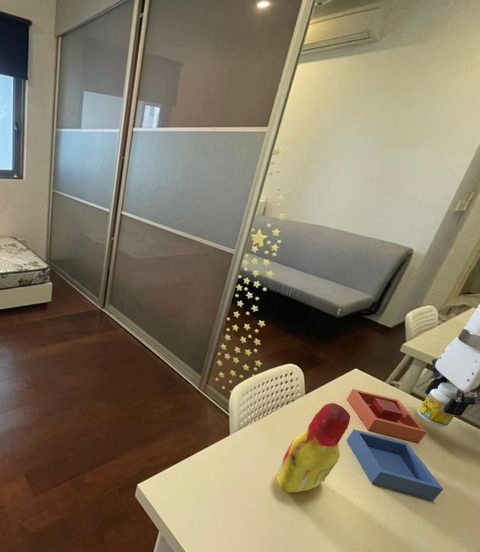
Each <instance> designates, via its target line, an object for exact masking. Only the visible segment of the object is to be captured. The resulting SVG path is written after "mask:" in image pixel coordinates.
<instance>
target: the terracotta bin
mask: <svg viewBox="0 0 480 552" xmlns="http://www.w3.org/2000/svg"><path fill="white" fill-rule="evenodd" d="M375 398H377V399H381V400H385V401H389V402H393V403H394V404H395V405H396V407H397V408H398V409H399V410H400V411H401V412H402V414H403V415H402V416H401V418H400V419H399V420H398V422H397V423H395V422H391V421H387V420H383V419H379V418H377V417H376V416H375V415H374V413H373V412H372V411H371V409H370V408H369V407H370V405H371V404H372V402H373V401H374V399H375ZM346 400H347V402H348V403H349V405H350V406H351V407H352V409H353V410H354V411H355V413H356V414H357V416H358V418H359V419H360V420H361V422H362V424H363V425H364V426H365V428H366V429H367V431H370V432H375V433H378V434H382V435H386V436H390V437H393V438H398V439H402V440H406V441H410V442H413V443H417V444H419V443H420V442H421V441H422V439H423V438H424V437H425V436H426V434H427V433H428V432H427V431H426V429H424V427H423V426H422V425H421V424H420V423H419V421H418V420H417V419H416V418H415V417H414V416H413V414H411V412H410V411H409V410H408V409H407V407H406V406H404V404H403V403H402V402H401V401H400V400H399V399H397V398H392V397H389V396H384V395H380V394H376V393H371V392H367V391H363V390H359V389H355V388H352V390H351V391H350V393H349V394H348V396H347V397H346Z"/></svg>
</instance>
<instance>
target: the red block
mask: <svg viewBox="0 0 480 552" xmlns="http://www.w3.org/2000/svg"><path fill="white" fill-rule="evenodd" d="M369 408H370V409H371V411H372V412H373V413H374V415H375V416H376V417H377V418H379V419H383V420H387V421H391V422H395V423H397V422H398V420H399V419H400V418H401V416H402V415H403V414H402V412H401V411H400V410H399V409H398V408H397V407H396V405H395V404H394V403H393V402H389V401H385V400H381V399H377V398H375V399H374V401H373V402H372V404H371V405H370V407H369Z"/></svg>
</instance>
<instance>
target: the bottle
mask: <svg viewBox="0 0 480 552" xmlns="http://www.w3.org/2000/svg"><path fill="white" fill-rule="evenodd" d="M350 423H351V414H350V413H349V412H348V411H347V409H345V408H344V407H343V406H342V405H339V404H337V403H335V402H330V403H326V404H324V405H323V406H321V408H320V409H319V410H318V412H316V413H315V415H314V416H313V418H312V419H311V421H310V423H309V425H308V427H307V430H305V431H303V432H302V433H300V434H299V435H297V436H296V437H295V438H294V439H293V440H292V442H291V443H290V444H289V446H288V448H287V450H286V452H285V453H284V456H283V458H282V459H281V463H280V465H279V467H278V469H277V477H276V479H277V483H278V485H279V486H280V488H281V489H282V490H283V491H285V492H286V493H299V492H306V491H311V490H312V489H313V488H316V487H319V485H320V484H321V483H324V482H325V481H326V478H327V477H328V476H329V475H330V473H331V471H332V470H333V468H334V467H335V466H336V464H337V463H338V461H339V460H340V457H341V451H340V445H339V443H340V441H341V440H342V438H343V436H344V434H345V433H346V431H347V429H348V428H349V425H350Z"/></svg>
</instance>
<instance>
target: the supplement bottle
mask: <svg viewBox="0 0 480 552" xmlns="http://www.w3.org/2000/svg"><path fill="white" fill-rule="evenodd" d="M457 390H458V387H457V386H455V385H454V384H450V383H441V384H440V385H439V386H438V389H433V390H431V391H430V393H429V394H428V395H427V396H426V397H425V399H424V400H423V402H422V404H420V406H419V408H418V410H417V413H418V415H419V416H420V417H421V418H422V419H424V420H425V421H426V422H428V423H430V424H432V425H434V426H438V427H442V428H443V427H447V426H449V424H450V423H451V421H453V419H454V417H455V416H456V415H452V414H448V413H445V412H444V411H443V410H444V408H445V407H446V405H447V404H448V402H449V401H450V400H451V399H452V398H453V399H455V397H456V393H457Z"/></svg>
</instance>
